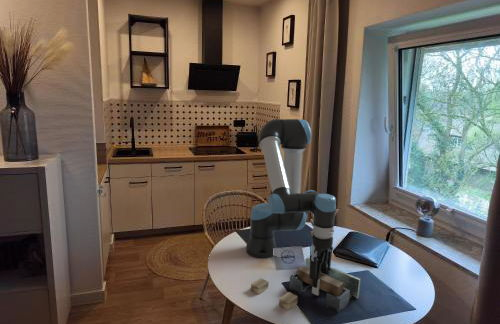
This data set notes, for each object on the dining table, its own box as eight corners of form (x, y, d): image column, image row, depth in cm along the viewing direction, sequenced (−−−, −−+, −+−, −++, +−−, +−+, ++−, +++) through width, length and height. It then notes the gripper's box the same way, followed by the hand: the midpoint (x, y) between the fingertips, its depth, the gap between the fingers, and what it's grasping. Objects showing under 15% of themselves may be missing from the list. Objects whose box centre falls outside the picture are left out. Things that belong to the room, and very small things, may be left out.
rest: (250, 290, 139) (251, 283, 138) (260, 284, 143) (260, 277, 142) (287, 310, 127) (288, 303, 126) (297, 303, 131) (297, 296, 131)
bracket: (287, 287, 142) (288, 269, 140) (306, 274, 152) (307, 257, 150) (341, 313, 126) (343, 293, 124) (358, 297, 136) (360, 278, 135)
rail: (296, 278, 140) (297, 269, 139) (302, 274, 143) (303, 265, 142) (337, 296, 128) (338, 286, 127) (342, 292, 131) (343, 282, 130)
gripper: (319, 245, 123) (315, 305, 128) (342, 231, 135) (337, 286, 140) (301, 239, 128) (298, 296, 132) (325, 226, 140) (321, 279, 145)
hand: (318, 291), depth 136 cm, fingers closed on rail, 4 cm apart
